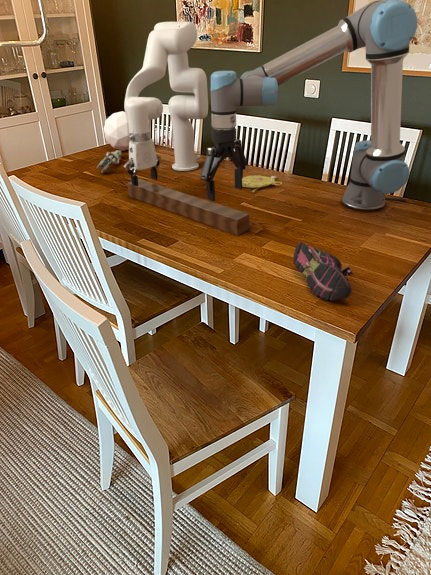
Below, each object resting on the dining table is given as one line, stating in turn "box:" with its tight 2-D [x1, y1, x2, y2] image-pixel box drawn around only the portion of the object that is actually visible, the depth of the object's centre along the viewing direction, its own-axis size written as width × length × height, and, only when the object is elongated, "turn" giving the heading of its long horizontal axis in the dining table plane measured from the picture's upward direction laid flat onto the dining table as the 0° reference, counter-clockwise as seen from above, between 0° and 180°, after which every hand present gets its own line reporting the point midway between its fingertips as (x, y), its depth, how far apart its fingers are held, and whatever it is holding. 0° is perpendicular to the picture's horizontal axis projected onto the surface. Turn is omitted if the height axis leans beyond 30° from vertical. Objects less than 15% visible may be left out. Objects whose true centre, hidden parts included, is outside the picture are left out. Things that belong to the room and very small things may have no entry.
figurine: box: [96, 149, 123, 174], centre depth 213 cm, size 7×8×30 cm
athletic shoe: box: [292, 242, 355, 301], centre depth 117 cm, size 11×22×12 cm
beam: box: [126, 178, 250, 236], centre depth 163 cm, size 57×6×6 cm, turn 48°
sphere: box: [103, 110, 130, 152], centre depth 233 cm, size 19×20×20 cm
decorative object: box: [242, 174, 283, 193], centre depth 186 cm, size 21×2×20 cm
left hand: (145, 182), depth 172 cm, fingers open, 9 cm apart
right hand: (225, 194), depth 146 cm, fingers open, 13 cm apart
